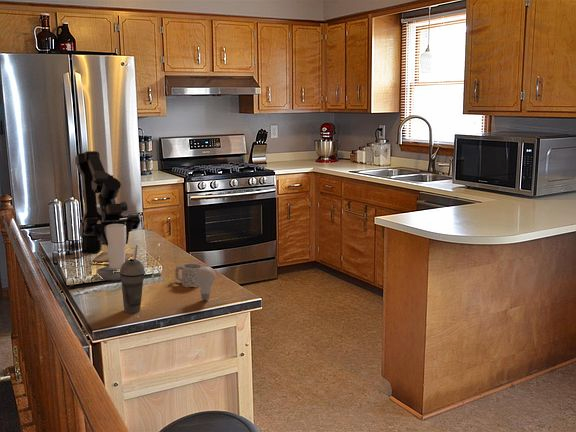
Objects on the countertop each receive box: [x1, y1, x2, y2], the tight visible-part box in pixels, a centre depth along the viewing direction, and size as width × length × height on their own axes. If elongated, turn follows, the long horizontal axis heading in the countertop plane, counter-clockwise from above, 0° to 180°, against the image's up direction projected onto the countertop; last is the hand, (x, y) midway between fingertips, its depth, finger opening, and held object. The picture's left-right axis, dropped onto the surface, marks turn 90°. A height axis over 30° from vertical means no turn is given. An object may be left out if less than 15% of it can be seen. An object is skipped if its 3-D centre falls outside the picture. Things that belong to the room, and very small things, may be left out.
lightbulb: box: [196, 266, 217, 301], centre depth 186 cm, size 6×6×11 cm
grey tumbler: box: [106, 224, 127, 269], centre depth 206 cm, size 7×7×15 cm
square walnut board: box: [92, 251, 134, 263], centre depth 226 cm, size 12×12×2 cm
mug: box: [174, 263, 203, 288], centre depth 202 cm, size 10×7×7 cm
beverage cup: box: [120, 244, 146, 314], centre depth 173 cm, size 7×7×20 cm
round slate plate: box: [96, 265, 121, 282], centre depth 208 cm, size 13×13×2 cm
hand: (117, 244), depth 205 cm, fingers closed on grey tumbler, 6 cm apart
